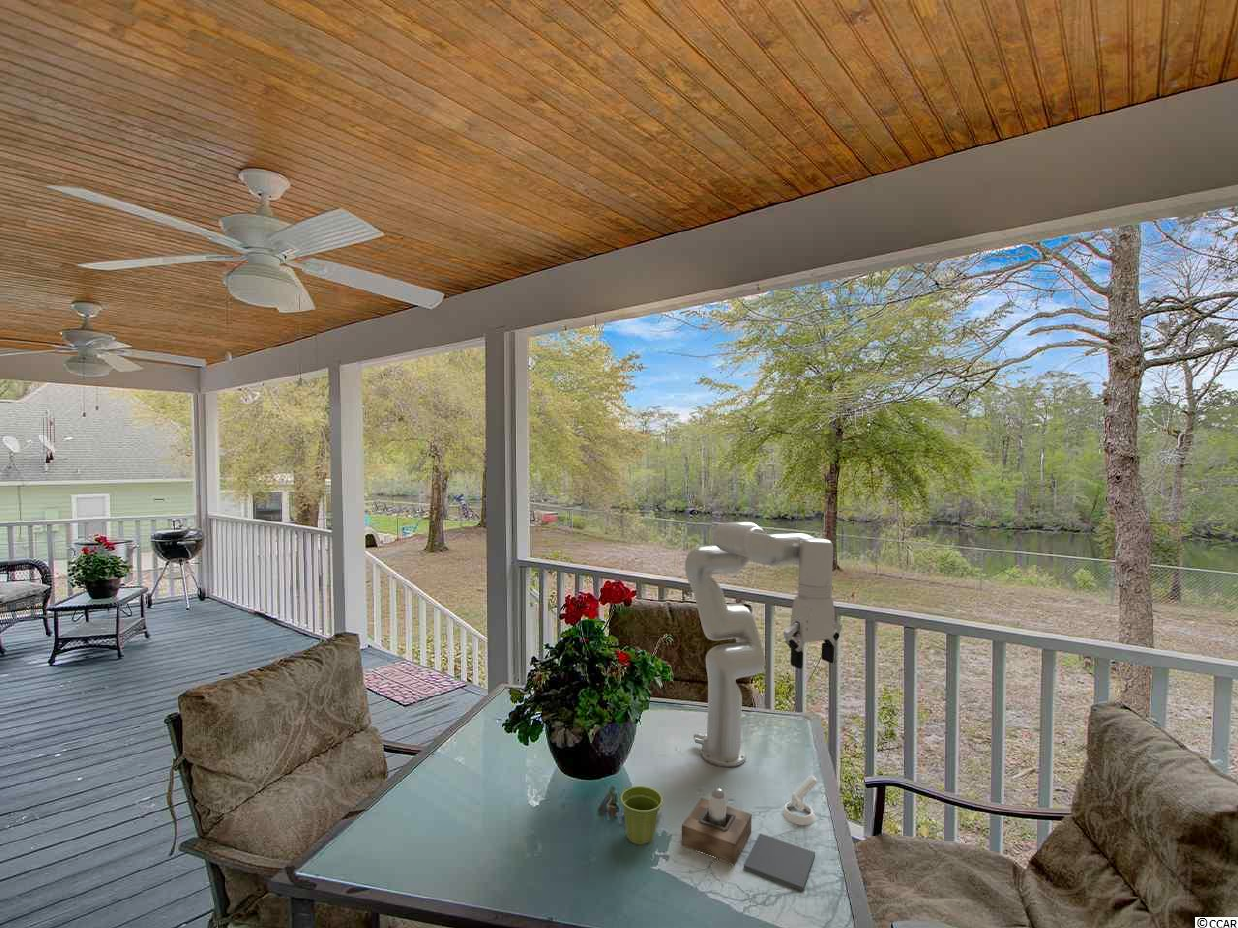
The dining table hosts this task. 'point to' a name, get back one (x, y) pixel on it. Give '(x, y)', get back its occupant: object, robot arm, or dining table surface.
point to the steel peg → (717, 807)
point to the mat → (780, 861)
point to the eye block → (716, 832)
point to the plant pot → (641, 813)
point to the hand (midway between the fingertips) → (812, 663)
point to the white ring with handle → (801, 803)
